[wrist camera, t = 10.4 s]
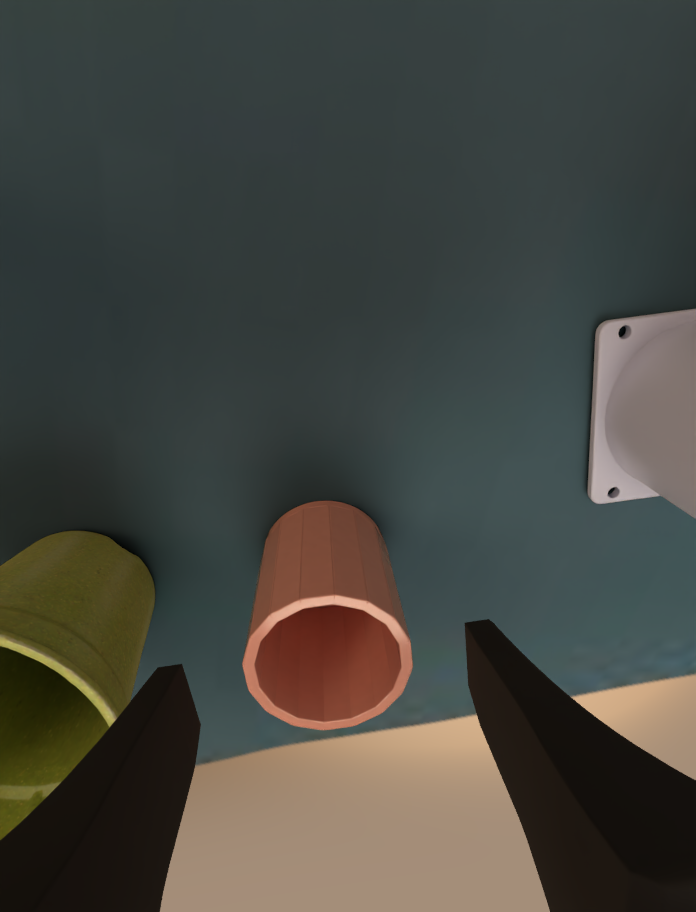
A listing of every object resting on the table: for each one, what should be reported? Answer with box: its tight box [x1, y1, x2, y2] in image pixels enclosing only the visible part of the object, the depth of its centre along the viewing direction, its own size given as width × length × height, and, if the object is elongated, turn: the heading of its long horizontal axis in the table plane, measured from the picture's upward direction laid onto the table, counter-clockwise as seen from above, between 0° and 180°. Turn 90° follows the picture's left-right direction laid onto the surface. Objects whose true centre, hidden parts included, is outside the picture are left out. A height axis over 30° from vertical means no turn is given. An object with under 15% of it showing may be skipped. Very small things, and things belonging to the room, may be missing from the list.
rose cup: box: [242, 501, 413, 730], centre depth 21 cm, size 6×6×7 cm
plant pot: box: [0, 531, 155, 840], centre depth 20 cm, size 9×9×9 cm
